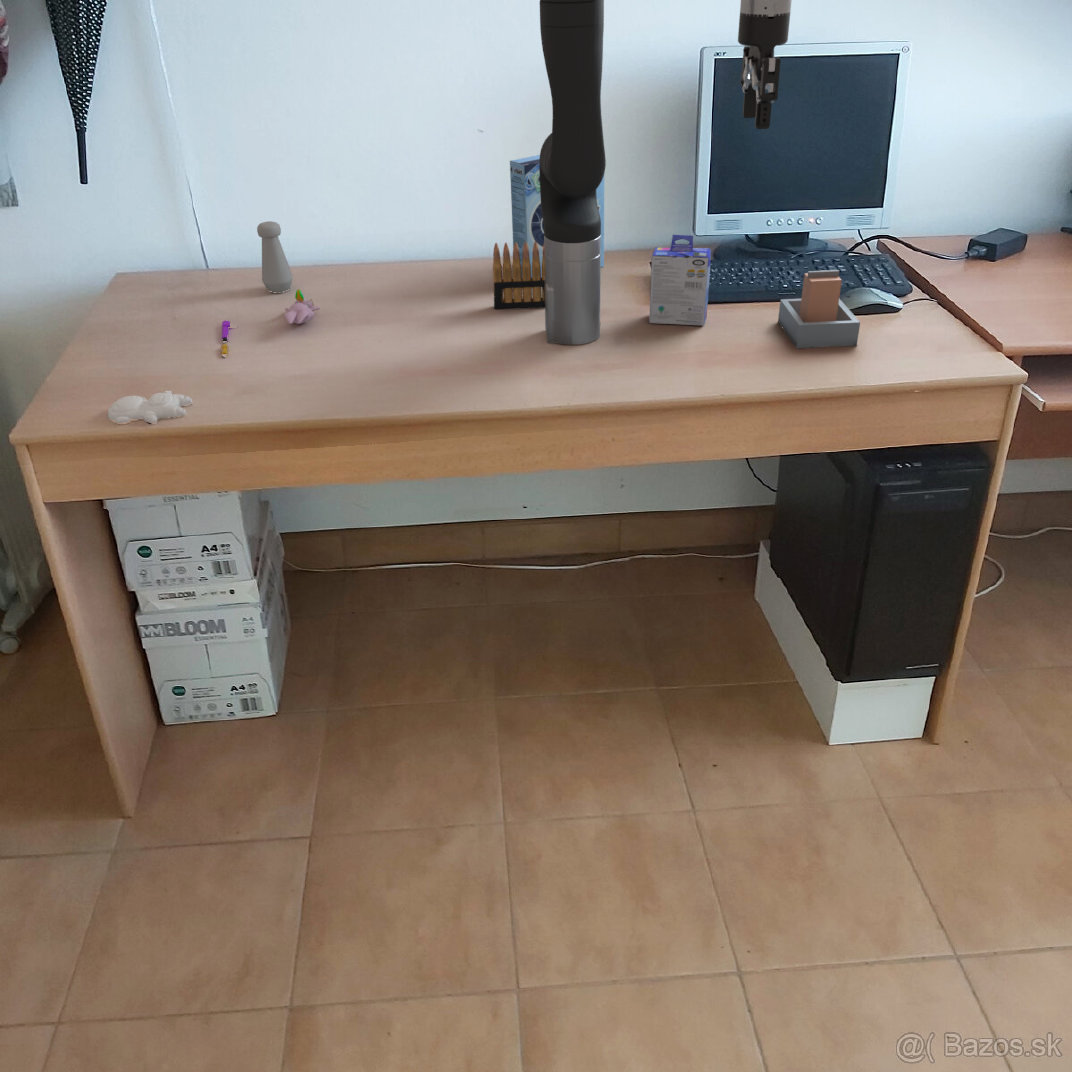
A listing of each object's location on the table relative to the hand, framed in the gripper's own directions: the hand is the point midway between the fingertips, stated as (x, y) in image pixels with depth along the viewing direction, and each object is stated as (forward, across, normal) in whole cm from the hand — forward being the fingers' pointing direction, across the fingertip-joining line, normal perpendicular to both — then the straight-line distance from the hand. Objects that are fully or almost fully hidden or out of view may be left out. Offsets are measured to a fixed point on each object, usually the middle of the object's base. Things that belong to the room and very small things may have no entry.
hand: (755, 123), depth 161 cm
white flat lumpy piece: (+33, +29, -96) cm, 105 cm away
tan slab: (+31, +10, +11) cm, 35 cm away
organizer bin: (+32, +10, +11) cm, 35 cm away
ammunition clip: (+32, -9, -38) cm, 51 cm away
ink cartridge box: (+32, +1, -11) cm, 34 cm away
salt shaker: (+32, -24, -85) cm, 94 cm away
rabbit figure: (+32, -6, -78) cm, 85 cm away
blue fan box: (+32, -26, -30) cm, 51 cm away
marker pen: (+33, +1, -90) cm, 95 cm away
